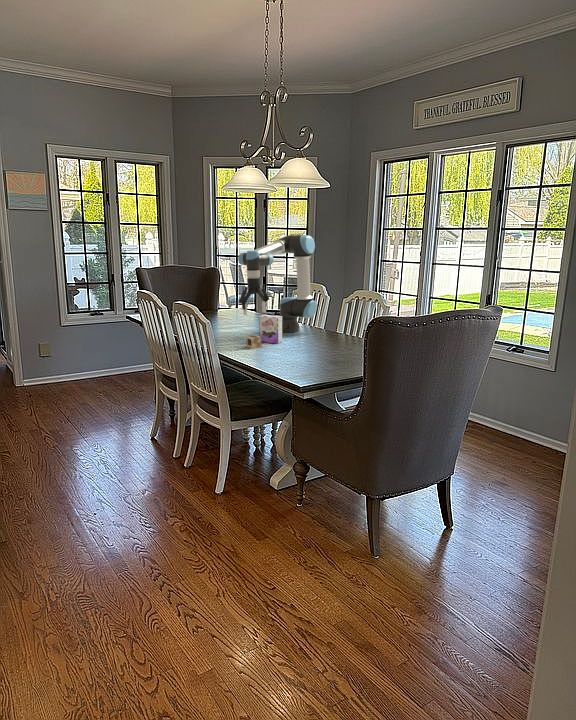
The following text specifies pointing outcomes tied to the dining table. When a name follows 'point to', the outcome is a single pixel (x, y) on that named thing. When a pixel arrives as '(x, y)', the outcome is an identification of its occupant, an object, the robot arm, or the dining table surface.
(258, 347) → the terracotta tile
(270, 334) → the candy box
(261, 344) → the grey tile
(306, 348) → the dining table surface
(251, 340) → the cube
